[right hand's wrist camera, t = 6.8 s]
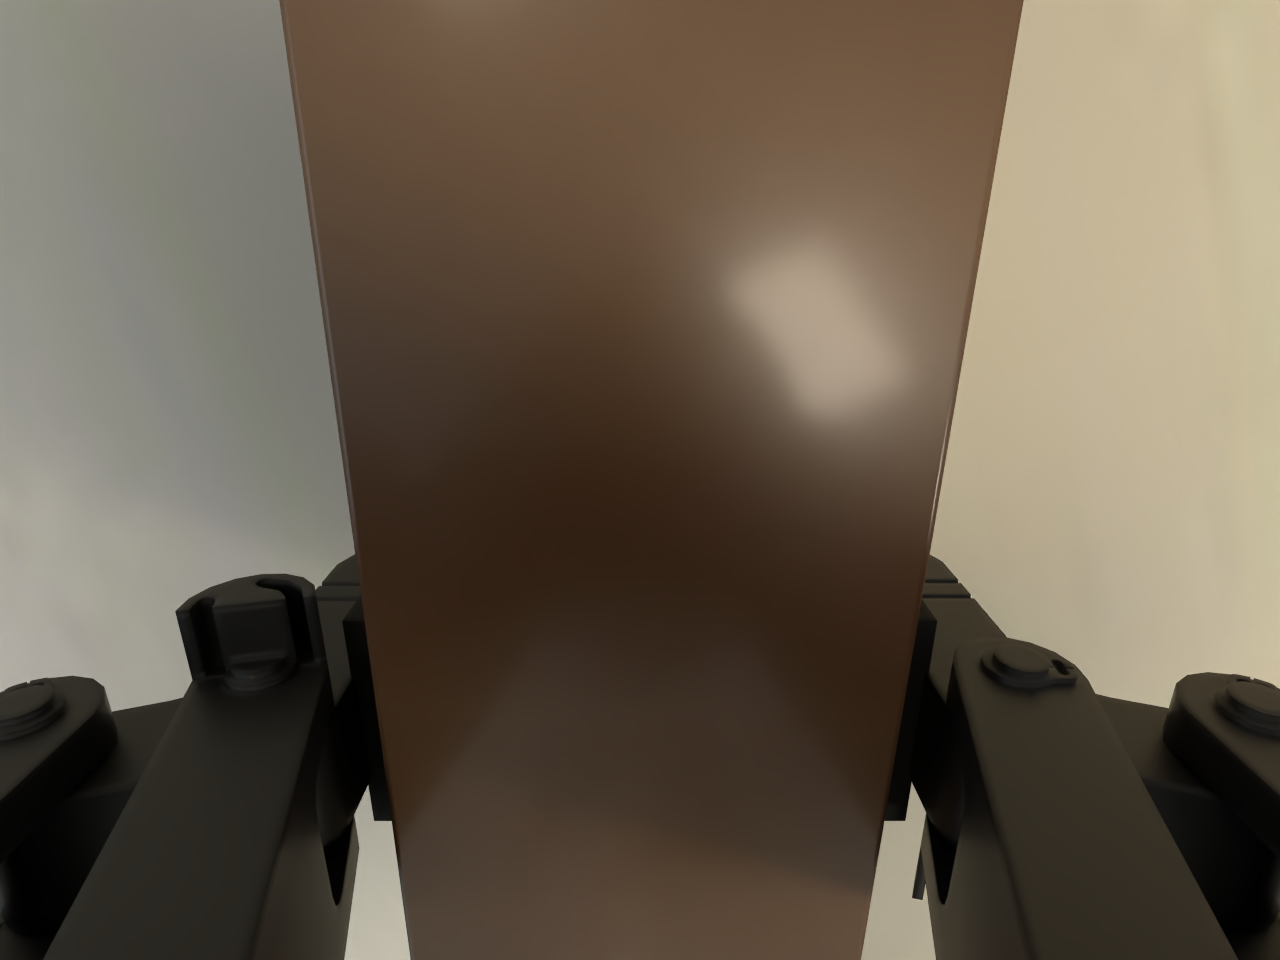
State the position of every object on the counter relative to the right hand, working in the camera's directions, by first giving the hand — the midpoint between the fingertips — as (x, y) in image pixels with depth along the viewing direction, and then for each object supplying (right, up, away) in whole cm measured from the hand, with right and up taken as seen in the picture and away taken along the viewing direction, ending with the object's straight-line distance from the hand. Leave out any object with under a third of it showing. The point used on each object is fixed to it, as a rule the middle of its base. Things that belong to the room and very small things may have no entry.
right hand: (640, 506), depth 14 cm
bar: (0, +30, -10) cm, 31 cm away
